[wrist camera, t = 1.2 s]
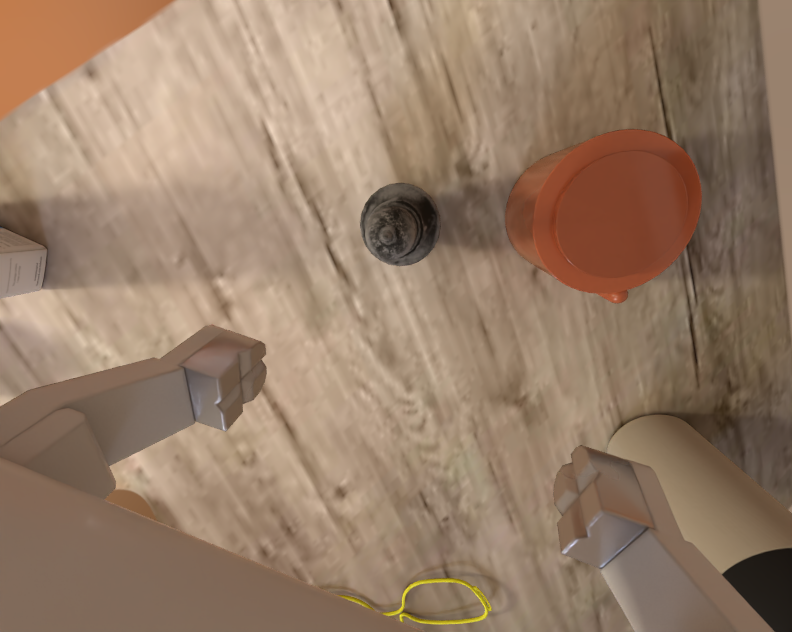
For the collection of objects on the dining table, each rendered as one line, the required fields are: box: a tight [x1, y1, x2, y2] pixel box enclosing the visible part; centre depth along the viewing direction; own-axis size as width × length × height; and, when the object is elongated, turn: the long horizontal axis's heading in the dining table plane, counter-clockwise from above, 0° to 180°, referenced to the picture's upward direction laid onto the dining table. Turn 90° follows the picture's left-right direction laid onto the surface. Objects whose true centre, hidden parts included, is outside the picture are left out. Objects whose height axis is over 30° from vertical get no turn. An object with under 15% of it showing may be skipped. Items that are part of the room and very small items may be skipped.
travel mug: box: [607, 415, 792, 632], centre depth 25 cm, size 8×8×18 cm
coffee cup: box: [505, 129, 702, 303], centre depth 23 cm, size 10×9×9 cm
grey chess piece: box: [360, 183, 441, 266], centre depth 23 cm, size 6×6×12 cm
